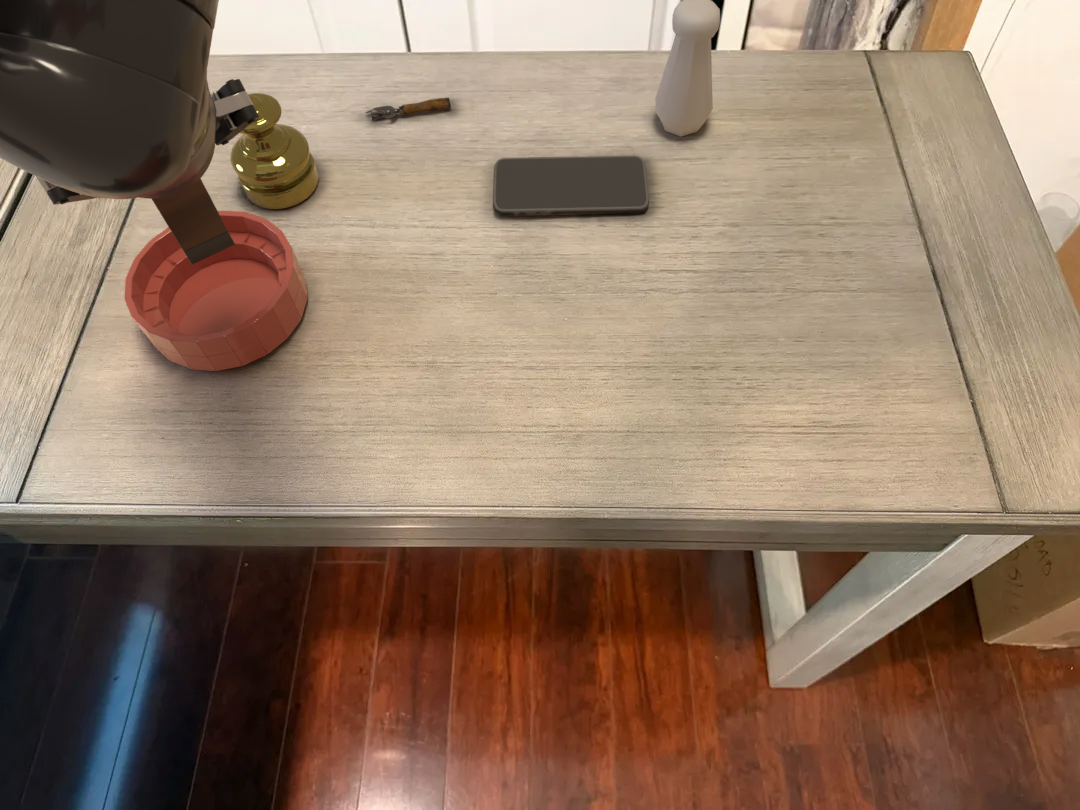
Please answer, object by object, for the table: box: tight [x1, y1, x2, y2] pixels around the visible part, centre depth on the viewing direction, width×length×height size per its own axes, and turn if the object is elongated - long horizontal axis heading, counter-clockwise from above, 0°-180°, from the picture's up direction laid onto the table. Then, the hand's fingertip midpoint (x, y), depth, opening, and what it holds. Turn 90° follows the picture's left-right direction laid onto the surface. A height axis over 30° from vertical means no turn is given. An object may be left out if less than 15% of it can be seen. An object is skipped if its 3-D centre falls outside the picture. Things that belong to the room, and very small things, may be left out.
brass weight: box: [229, 92, 319, 210], centre depth 77 cm, size 7×7×10 cm
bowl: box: [124, 210, 308, 372], centre depth 72 cm, size 14×14×5 cm
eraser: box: [151, 177, 235, 265], centre depth 58 cm, size 5×4×10 cm
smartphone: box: [492, 155, 650, 217], centre depth 79 cm, size 7×1×15 cm
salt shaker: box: [654, 0, 721, 137], centre depth 78 cm, size 6×6×13 cm
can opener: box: [365, 97, 452, 121], centre depth 85 cm, size 9×2×1 cm, turn 94°
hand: (158, 160), depth 58 cm, fingers closed on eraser, 3 cm apart
